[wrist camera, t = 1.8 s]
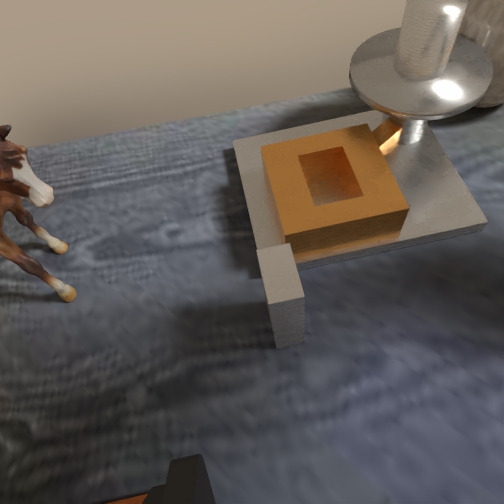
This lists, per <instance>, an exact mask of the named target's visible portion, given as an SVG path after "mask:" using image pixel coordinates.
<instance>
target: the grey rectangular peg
mask: <svg viewBox="0 0 504 504" xmlns="http://www.w3.org/2000/svg"><path fill="white" fill-rule="evenodd" d="M256 251H257V256H258V262H259V267H260V272H261V277H262V282H263V287H264V293H265V298H266V303H267V308H268V312H269V317H270V321H271V326H272V330H273V335H274V339H275V344H276V348H277V349H280V348H284V347H289V346H293V345H298V344H303V343H304V315H305V296H304V292H303V289H302V285H301V282H300V278H299V275H298V271H297V267H296V264H295V260H294V257H293V253H292V250H291V246H290V243H287V244H283V245H278V246H273V247H269V248H264V249H259V250H256Z"/></svg>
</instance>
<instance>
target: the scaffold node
mask: <svg viewBox="0 0 504 504" xmlns="http://www.w3.org/2000/svg"><path fill="white" fill-rule="evenodd" d="M467 4H468V0H407V3H406V7H405V12H404V17H403V21H402V26H401V28H396V29H391V30H388V31H385V32H382V33H379V34H377V35H375V36H373V37H371V38H369V39H368V40H366V41H365V42H364V43H363V44H361V45H360V46H359V47H358V48H357V50H356V51H355V52H354V54H353V57H352V59H351V63H350V71H349V79H350V84H351V86H352V89H353V90H354V92H355V94H356V95H357V96H358V97H359V98H360V99H361V100H362V101H363V102H364V103H365V104H367V105H368V106H370V107H371V108H373V109H375V110H372V111H367V112H362V113H358V114H353V115H348V116H344V117H339V118H335V119H330V120H325V121H321V122H316V123H312V124H307V125H302V126H298V127H293V128H288V129H284V130H279V131H275V132H270V133H265V134H261V135H256V136H251V137H247V138H242V139H238V140H233V145H234V150H235V155H236V159H237V163H238V168H239V172H240V177H241V181H242V185H243V190H244V194H245V199H246V203H247V208H248V212H249V216H250V221H251V225H252V230H253V234H254V238H255V243H256V247H257V250H259V249H264V248H269V247H273V246H278V245H283V244H287V243H290V246H291V250H292V253H293V257H294V260H295V264H296V267H297V271H299V270H303V269H308V268H312V267H317V266H322V265H326V264H331V263H335V262H340V261H345V260H349V259H354V258H358V257H363V256H368V255H372V254H377V253H381V252H386V251H391V250H395V249H400V248H404V247H409V246H414V245H418V244H423V243H427V242H432V241H437V240H441V239H446V238H450V237H455V236H460V235H464V234H469V233H473V232H478V231H482V230H483V229H484V227H485V226H486V224H487V223H488V221H487V219H486V218H485V216H484V214H483V213H482V211H481V210H480V208H479V206H478V205H477V203H476V201H475V200H474V198H473V197H472V195H471V193H470V192H469V190H468V188H467V187H466V185H465V184H464V182H463V180H462V179H461V177H460V175H459V174H458V172H457V171H456V169H455V167H454V166H453V164H452V163H451V161H450V159H449V158H448V156H447V154H446V153H445V151H444V150H443V148H442V146H441V145H440V143H439V141H438V140H437V138H436V137H435V135H434V133H433V132H432V130H431V129H430V127H429V125H428V124H427V123H428V120H437V119H443V118H447V117H451V116H455V115H457V114H460V113H463V112H464V111H466V110H468V109H470V108H472V107H473V106H474V105H476V104H477V103H478V102H479V101H480V100H481V99H482V98H483V96H484V95H485V93H486V91H487V89H488V87H489V84H490V82H491V80H492V76H493V65H492V62H491V59H490V57H489V56H488V54H487V53H486V51H485V50H484V49H483V48H482V47H481V46H480V45H478V44H477V43H476V42H474V41H473V40H471V39H469V38H468V37H465V36H463V35H461V34H459V33H458V31H459V28H460V25H461V22H462V19H463V16H464V13H465V10H466V7H467Z"/></svg>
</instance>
